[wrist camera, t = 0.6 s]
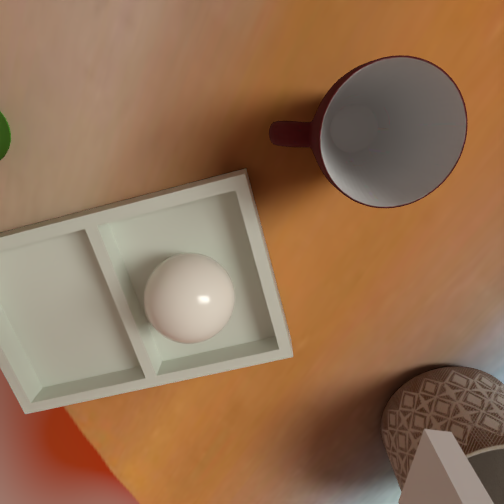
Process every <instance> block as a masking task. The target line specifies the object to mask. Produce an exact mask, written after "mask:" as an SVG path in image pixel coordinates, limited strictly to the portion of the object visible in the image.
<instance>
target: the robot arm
mask: <svg viewBox="0 0 504 504" xmlns="http://www.w3.org/2000/svg"><path fill="white" fill-rule="evenodd" d="M399 504H494V503H493V501H492V500H491V498H490V496H489V495H488V493H487V491H486V489H485V488H484V486H483V484H482V483H481V481H480V479H479V478H478V476H477V474H476V473H475V471H474V469H473V468H472V466H471V464H470V463H469V461H468V459H467V457H466V456H465V454H464V452H463V451H462V449H461V447H460V446H459V444H458V442H457V441H456V439H455V437H454V436H453V434H452V432H447V431H439V430H431V429H424V431H423V433H422V436H421V439H420V442H419V445H418V448H417V451H416V453H415V456H414V459H413V462H412V465H411V468H410V470H409V473H408V476H407V479H406V482H405V485H404V487H403V490H402V493H401V496H400V499H399Z"/></svg>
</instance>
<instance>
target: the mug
mask: <svg viewBox="0 0 504 504" xmlns="http://www.w3.org/2000/svg"><path fill="white" fill-rule="evenodd" d="M466 135H467V112H466V107H465V103H464V100H463V97H462V95H461V92H460V90H459V89H458V87H457V85H456V84H455V82H454V81H453V80H452V78H451V77H450V76H449V75H448V74H447V73H446V72H445V71H443V70H442V69H441V68H440V67H438V66H437V65H435V64H433V63H431V62H429V61H427V60H424V59H421V58H417V57H412V56H389V57H384V58H380V59H377V60H373V61H370V62H368V63H365V64H363V65H360V66H358V67H356V68H354V69H353V70H351V71H350V72H348V73H347V74H345V75H344V76H343V77H341V78H340V79H339V80H338V81H337V82H336V83H335V84H334V85H333V86H332V87H331V88H330V90H329V91H328V92H327V94H326V95H325V97H324V98H323V100H322V102H321V103H320V105H319V107H318V110H317V112H316V114H315V116H314V118H313V120H312V121H311V122H296V121H276V122H273V123H272V124H271V126H270V130H269V137H270V140H271V142H272V143H273V144H274V145H279V146H286V147H310V148H311V149H312V151H313V153H314V156H315V158H316V160H317V163H318V165H319V167H320V169H321V170H322V172H323V174H324V175H325V177H326V178H327V179H328V180H329V182H330V183H331V184H332V185H333V186H334V187H335V188H337V189H338V190H339V191H340V192H341V193H343V194H344V195H345V196H347V197H348V198H350V199H351V200H353V201H355V202H358V203H360V204H363V205H366V206H370V207H375V208H395V207H401V206H404V205H408V204H411V203H414V202H416V201H418V200H420V199H422V198H424V197H425V196H427V195H429V194H430V193H431V192H433V191H434V190H435V189H436V188H438V187H439V186H440V185H441V184H442V183H443V182H444V181H445V180H446V178H447V177H448V176H449V175H450V173H451V172H452V171H453V169H454V168H455V166H456V164H457V162H458V160H459V158H460V156H461V154H462V151H463V148H464V144H465V140H466Z"/></svg>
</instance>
